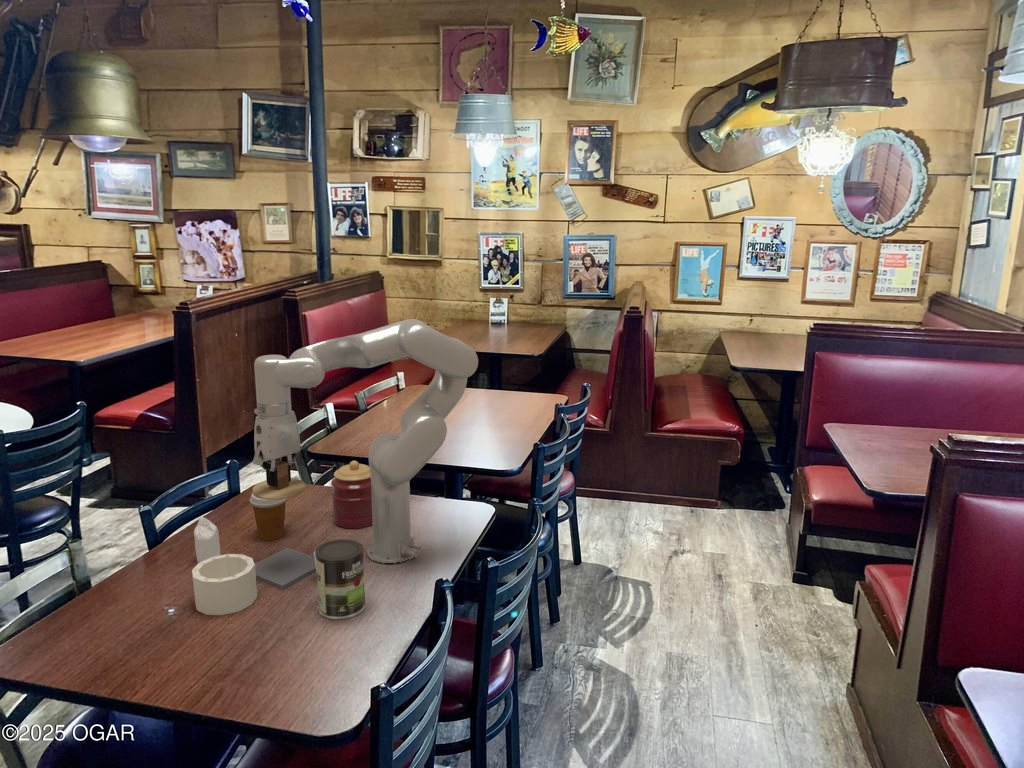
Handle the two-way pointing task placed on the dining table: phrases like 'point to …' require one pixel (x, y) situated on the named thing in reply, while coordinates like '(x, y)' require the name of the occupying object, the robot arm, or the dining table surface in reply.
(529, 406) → the dining table surface
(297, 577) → the mat
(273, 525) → the disposable coffee cup
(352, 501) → the canister
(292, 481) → the lid
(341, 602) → the coffee can
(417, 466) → the robot arm
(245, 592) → the bowl
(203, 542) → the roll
